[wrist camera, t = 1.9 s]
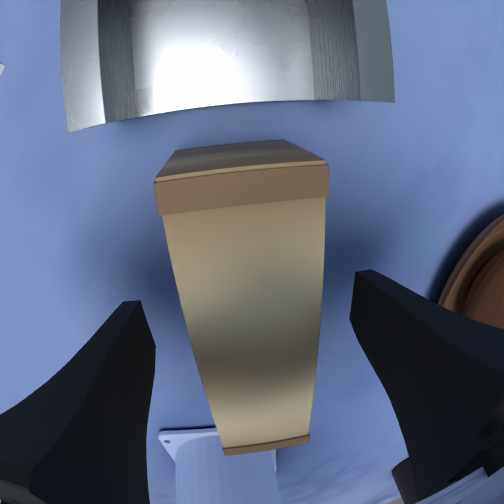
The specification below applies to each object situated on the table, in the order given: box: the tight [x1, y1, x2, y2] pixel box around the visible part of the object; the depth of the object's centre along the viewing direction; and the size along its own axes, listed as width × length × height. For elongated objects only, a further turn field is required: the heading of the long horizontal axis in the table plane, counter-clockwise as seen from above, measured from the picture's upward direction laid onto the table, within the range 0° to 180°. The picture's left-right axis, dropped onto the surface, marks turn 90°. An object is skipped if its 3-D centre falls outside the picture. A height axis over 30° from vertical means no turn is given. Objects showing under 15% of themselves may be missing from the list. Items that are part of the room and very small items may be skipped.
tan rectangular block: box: [153, 140, 329, 456], centre depth 12 cm, size 13×4×5 cm, turn 4°
